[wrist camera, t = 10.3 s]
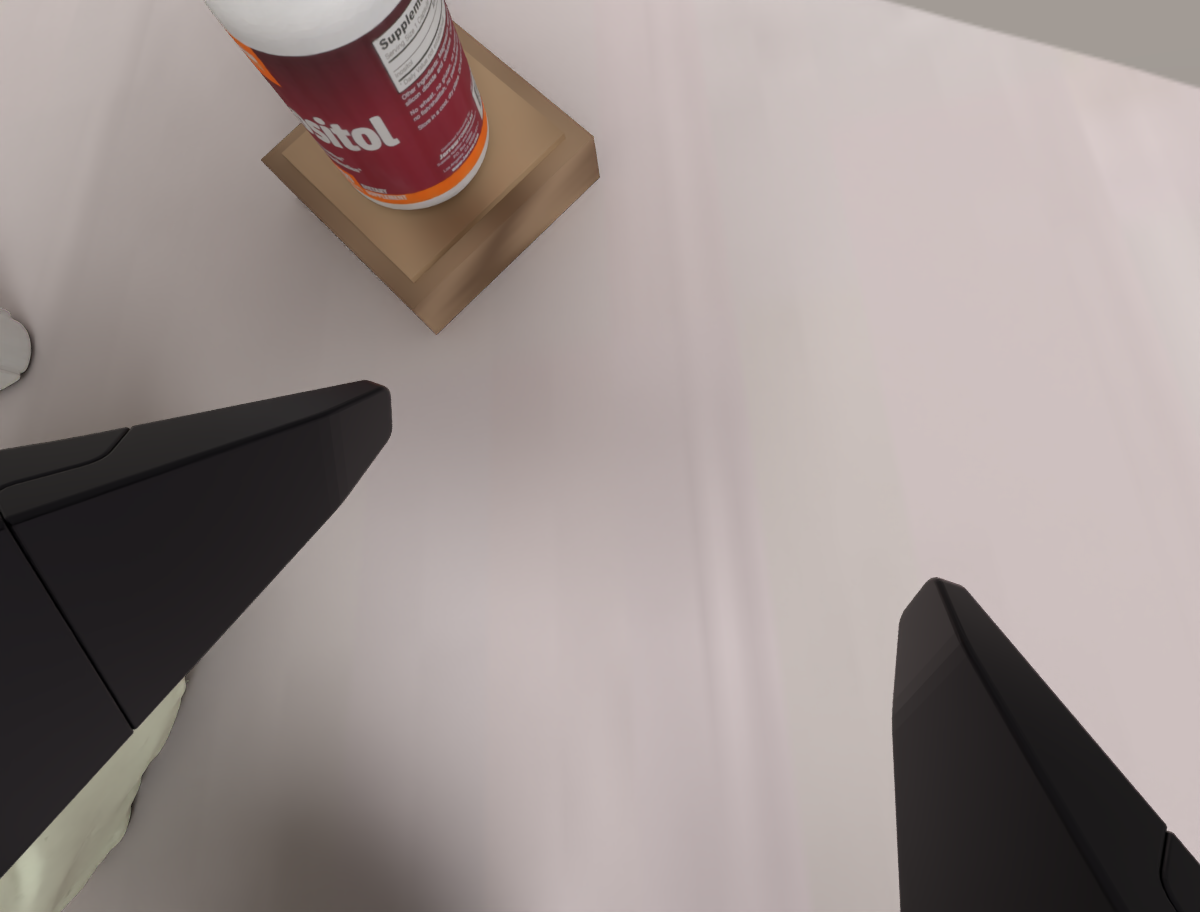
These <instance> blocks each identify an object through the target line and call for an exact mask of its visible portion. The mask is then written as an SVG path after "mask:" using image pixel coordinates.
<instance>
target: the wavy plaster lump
mask: <svg viewBox="0 0 1200 912" xmlns="http://www.w3.org/2000/svg"><path fill="white" fill-rule="evenodd" d="M188 681H189V680H188ZM188 681H187V682H188ZM185 689H186V682H185V677H184V678H183V679H182V680H181V681H180V682H179V683H178V684H177V685H176V687H175V688H174V689H173V690H172V691H171V692H170V693H169V694H168V695H167V696H166V698H165V699H164V700H163V701H162V702H161V703H160V704H159V705H158V706H157V707H156V708H155V710H154V711H153V712H152V713H151V714H150V715H149V716H148V717H147V718H146V719H145V721H144V722H143V723H142V724H141V725H140V726H139V727H138V728H137V729H135V730H133V731H134V733H133V734H132V735H131V736H130V738H129V739H128V740H127V741H126V742H125V743H124V744H123V745H122V746H121V747H120V748H119V750H118V751H117V752H116V753H115V754H114V755H113V756H112V757H111V758H110V759H109V761H108V762H107V763H106V764H105V765H104V766H103V767H102V768H101V769H100V770H99V771H98V773H97V774H96V775H95V776H94V777H93V778H92V779H91V780H90V781H89V782H88V784H87V785H86V786H85V787H84V788H83V789H82V790H81V791H80V792H79V793H78V794H77V796H76V797H75V798H74V799H73V800H72V801H71V802H70V803H69V804H68V805H67V807H66V808H65V809H64V810H63V811H62V812H61V813H60V814H59V815H58V816H57V817H56V819H55V820H54V821H53V822H52V823H51V824H50V825H49V826H48V827H47V828H46V830H45V831H44V832H43V833H42V834H41V835H40V836H39V837H38V838H37V839H36V840H35V842H34V843H33V844H32V845H31V846H30V847H29V848H28V849H27V850H26V851H25V853H24V854H23V855H22V856H21V857H20V858H19V859H18V860H17V861H16V862H15V864H14V865H13V866H12V867H11V868H10V869H9V870H8V871H7V872H6V873H5V874H4V876H3V877H2V878H1V879H0V912H61V911H62V910H63V909H64V908H65V907H66V906H67V905H68V904H69V903H70V901H71V900H72V899H73V898H74V897H75V896H76V895H77V894H78V893H79V892H80V891H81V890H82V888H83V887H84V886H85V884H86V883H87V881H88V880H89V878H90V876H91V875H92V874H93V872H94V871H95V870H96V868H97V866H98V865H99V864H100V863H101V862H102V861H103V860H104V859H105V857H106V855H107V853H109V852H110V851H111V850H112V849H113V848H114V847H115V846H116V845H117V844H118V843H119V842H120V841H121V840H122V838H123V836H124V834H125V832H126V829H127V826H128V823H129V819H130V815H131V804H132V802H133V800H134V798H135V796H136V794H137V792H138V789H139V787H140V784H141V776H142V774H143V773H144V771H145V770H146V768H147V767H148V765H149V764H150V762H151V761H152V760H153V759H154V758H155V757H156V756H157V755H158V754H159V752H160V751H161V749H162V748H163V746H164V744H165V742H166V740H167V738H168V736H169V734H170V731H171V729H172V727H173V724H174V721H175V718H176V716H177V713H178V709H179V707H180V704H181V697H182V695H183V694H184V692H185Z"/></svg>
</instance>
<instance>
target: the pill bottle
mask: <svg viewBox="0 0 1200 912" xmlns="http://www.w3.org/2000/svg"><path fill="white" fill-rule="evenodd" d="M204 1H205V3H206V5H207V6H208V8H209V9H210V10H211V12H212V13H213V14H214V16H215V17H216V18H217V19H218V21H219V22H220V23H221V25H222V26H223V27H224V28H225V30H226V31H227V32H228V33H229V35H230V36H231V37H232V38H233V39H234V41H235V42H236V43H237V44H238V46H239V47H240V48H241V49H242V51H243V52H244V53H245V54H246V55H247V57H248V58H249V59H250V60H251V62H252V63H253V64H254V65H255V66H256V68H257V69H258V70H259V71H260V72H261V74H262V75H263V76H264V77H265V79H266V80H267V81H268V82H269V83H270V85H271V86H272V87H273V88H274V90H275V91H276V92H277V93H278V95H279V96H280V97H281V98H282V100H283V101H284V102H285V103H286V105H287V106H288V107H289V108H290V109H291V111H292V112H293V113H294V114H295V116H296V117H297V118H298V119H299V120H300V122H301V123H302V124H303V125H304V127H305V128H306V129H307V130H308V132H309V133H310V134H311V135H312V136H313V138H314V139H315V140H316V142H317V143H318V144H319V145H320V146H321V148H322V149H323V150H324V151H325V153H326V154H327V155H328V157H329V158H330V159H331V160H332V162H333V163H334V164H335V165H336V167H337V168H338V169H339V170H340V171H341V173H342V174H343V175H344V176H345V178H346V179H347V180H348V181H349V182H350V183H351V184H352V185H353V187H354V188H355V189H356V190H357V191H358V192H360V193H361V194H362V195H364V196H365V197H366V198H368V199H369V200H371V201H373V202H375V203H377V204H379V205H381V206H384V207H387V208H392V209H400V210H415V209H423V208H427V207H431V206H434V205H437V204H440V203H442V202H444V201H446V200H448V199H450V198H452V197H453V196H455V195H457V194H458V193H459V192H460V191H461V190H463V189H464V188H465V187H466V186H467V184H468V183H469V182H470V181H471V180H472V179H473V177H474V176H475V175H476V173H477V171H478V170H479V168H480V166H481V164H482V162H483V160H484V157H485V154H486V151H487V147H488V140H489V126H488V119H487V115H486V111H485V108H484V104H483V101H482V98H481V96H480V93H479V91H478V88H477V85H476V83H475V80H474V77H473V75H472V72H471V69H470V66H469V64H468V61H467V58H466V56H465V53H464V51H463V48H462V45H461V42H460V40H459V37H458V34H457V32H456V29H455V27H454V24H453V21H452V19H451V16H450V13H449V10H448V8H447V5H446V3H445V0H204Z"/></svg>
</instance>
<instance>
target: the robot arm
mask: <svg viewBox="0 0 1200 912" xmlns="http://www.w3.org/2000/svg"><path fill="white" fill-rule="evenodd" d="M391 432H392V409H391V394H390V391H389V389H388V388H387V387H385V386H383V385H380V384H377V383H374V382H371V381H368V380H362V381H357V382H352V383H347V384H342V385H337V386H332V387H327V388H322V389H317V390H312V391H307V392H302V393H296V394H291V395H286V396H281V397H276V398H271V399H266V400H261V401H256V402H251V403H246V404H241V405H236V406H231V407H226V408H221V409H216V410H211V411H206V412H201V413H196V414H191V415H186V416H181V417H176V418H171V419H166V420H161V421H156V422H151V423H146V424H141V425H136V426H133V427H132V428H131V429H130V428H127V427H125V428H120V429H115V430H110V431H105V432H100V433H95V434H89V435H84V436H79V437H73V438H68V439H62V440H57V441H52V442H45V443H39V444H33V445H27V446H20V447H14V448H8V449H2V450H0V879H1V878H2V877H3V876H4V874H5V873H6V872H7V871H8V870H9V869H10V868H11V867H12V866H13V865H14V864H15V862H16V861H17V860H18V859H19V858H20V857H21V856H22V855H23V854H24V853H25V851H26V850H27V849H28V848H29V847H30V846H31V845H32V844H33V843H34V842H35V840H36V839H37V838H38V837H39V836H40V835H41V834H42V833H43V832H44V831H45V830H46V828H47V827H48V826H49V825H50V824H51V823H52V822H53V821H54V820H55V819H56V817H57V816H58V815H59V814H60V813H61V812H62V811H63V810H64V809H65V808H66V807H67V805H68V804H69V803H70V802H71V801H72V800H73V799H74V798H75V797H76V796H77V794H78V793H79V792H80V791H81V790H82V789H83V788H84V787H85V786H86V785H87V784H88V782H89V781H90V780H91V779H92V778H93V777H94V776H95V775H96V774H97V773H98V771H99V770H100V769H101V768H102V767H103V766H104V765H105V764H106V763H107V762H108V761H109V759H110V758H111V757H112V756H113V755H114V754H115V753H116V752H117V751H118V750H119V748H120V747H121V746H122V745H123V744H124V743H125V742H126V741H127V740H128V739H129V738H130V736H131V735H132V734H133V733H134V731H133V730H135V729H137V728H138V727H139V726H140V725H141V724H142V723H143V722H144V721H145V719H146V718H147V717H148V716H149V715H150V714H151V713H152V712H153V711H154V710H155V708H156V707H157V706H158V705H159V704H160V703H161V702H162V701H163V700H164V699H165V698H166V696H167V695H168V694H169V693H170V692H171V691H172V690H173V689H174V688H175V687H176V685H177V684H178V683H179V682H180V681H181V680H182V679H183V678H184V677H185V676H186V675H187V673H188V672H189V671H190V670H191V669H192V668H193V667H194V666H195V665H196V664H197V662H198V661H199V660H200V659H201V658H202V657H203V656H204V655H205V654H206V653H207V651H208V650H209V649H210V648H211V647H212V646H213V645H214V644H215V643H216V642H217V641H218V639H219V638H220V637H221V636H222V635H223V634H224V633H225V632H226V631H227V630H228V628H229V627H230V626H231V625H232V624H233V623H234V622H235V621H236V620H237V619H238V618H239V616H240V615H241V614H242V613H243V612H244V611H245V610H246V609H247V608H248V607H249V605H250V604H251V603H252V602H253V601H254V600H255V599H256V598H257V597H258V596H259V594H260V593H261V592H262V591H263V590H264V589H265V588H266V587H267V586H268V585H269V584H270V582H271V581H272V580H273V579H274V578H275V577H276V576H277V575H278V574H279V573H280V571H281V570H282V569H283V568H284V567H285V566H286V565H287V564H288V563H289V562H290V561H291V559H292V558H293V557H294V556H295V555H296V554H297V553H298V552H299V551H300V550H301V548H302V547H303V546H304V545H305V544H306V543H307V542H308V541H309V540H310V539H311V537H312V536H313V535H314V534H315V533H316V532H317V531H318V530H319V529H320V528H321V527H322V525H323V524H324V523H325V522H326V521H327V520H328V519H329V518H330V517H331V516H332V514H333V513H334V512H335V511H336V510H337V509H338V507H339V506H340V505H341V504H342V503H343V501H344V500H345V499H346V498H347V496H348V495H349V494H350V492H351V491H352V490H353V488H354V487H355V485H356V484H357V483H358V481H359V480H360V479H361V477H362V476H363V474H364V473H365V472H366V470H367V469H368V468H369V466H370V465H371V463H372V462H373V461H374V459H375V458H376V456H377V455H378V454H379V452H380V451H381V450H382V448H383V447H384V445H385V444H386V443H387V441H388V440H389V438H390V435H391ZM892 738H893V760H894V782H895V803H896V825H897V847H898V869H899V890H900V912H1200V864H1199V863H1198V861H1197V860H1196V859H1195V858H1194V857H1193V855H1192V854H1191V853H1190V852H1189V851H1188V850H1187V848H1186V847H1185V846H1184V845H1183V844H1182V842H1181V841H1180V840H1179V839H1178V838H1177V837H1176V835H1175V834H1174V833H1172V832H1170V831H1167V826H1166V824H1165V823H1164V822H1163V820H1162V819H1161V818H1160V817H1159V816H1158V814H1157V813H1156V812H1155V811H1154V810H1153V809H1152V807H1151V806H1150V805H1149V804H1148V803H1147V802H1146V800H1145V799H1144V798H1143V797H1142V796H1141V794H1140V793H1139V792H1138V791H1137V790H1136V789H1135V787H1134V786H1133V785H1132V784H1131V783H1130V782H1129V780H1128V779H1127V778H1126V777H1125V776H1124V774H1123V773H1122V772H1121V771H1120V770H1119V769H1118V767H1117V766H1116V765H1115V764H1114V763H1113V761H1112V760H1111V759H1110V758H1109V757H1108V756H1107V754H1106V753H1105V752H1104V751H1103V750H1102V749H1101V747H1100V746H1099V745H1098V744H1097V743H1096V741H1095V740H1094V739H1093V738H1092V737H1091V736H1090V734H1089V733H1088V732H1087V731H1086V730H1085V729H1084V727H1083V726H1082V725H1081V724H1080V723H1079V721H1078V720H1077V719H1076V718H1075V717H1074V716H1073V714H1072V713H1071V712H1070V711H1069V710H1068V709H1067V707H1066V706H1065V705H1064V704H1063V703H1062V701H1061V700H1060V699H1059V698H1058V697H1057V696H1056V694H1055V693H1054V692H1053V691H1052V690H1051V689H1050V687H1049V686H1048V685H1047V684H1046V683H1045V681H1044V680H1043V679H1042V678H1041V677H1040V676H1039V674H1038V673H1037V672H1036V671H1035V670H1034V669H1033V667H1032V666H1031V665H1030V664H1029V663H1028V661H1027V660H1026V659H1025V658H1024V657H1023V656H1022V654H1021V653H1020V652H1019V651H1018V650H1017V649H1016V647H1015V646H1014V645H1013V644H1012V643H1011V641H1010V640H1009V639H1008V638H1007V637H1006V636H1005V634H1004V633H1003V632H1002V631H1001V630H1000V629H999V627H998V626H997V625H996V624H995V623H994V621H993V620H992V619H991V618H990V617H989V616H988V614H987V613H986V612H985V611H984V610H983V609H982V607H981V606H980V605H979V604H978V603H977V601H976V600H975V599H974V598H973V597H972V596H971V594H970V593H969V592H968V591H967V590H966V589H965V588H964V587H963V586H961V585H959V584H956V583H953V582H950V581H947V580H944V579H941V578H938V577H934V578H931V579H929V580H928V581H927V582H926V583H925V584H924V585H923V587H922V588H921V589H920V591H919V592H918V593H917V594H916V596H915V597H914V598H913V600H912V601H911V602H910V603H909V605H908V606H907V607H906V609H905V610H904V612H903V614H902V616H901V619H900V622H899V631H898V643H897V656H896V668H895V680H894V693H893V707H892Z"/></svg>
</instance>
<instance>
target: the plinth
mask: <svg viewBox="0 0 1200 912" xmlns="http://www.w3.org/2000/svg"><path fill="white" fill-rule="evenodd" d="M453 24H454V27H455V29H456V32H457V34H458V37H459V40H460V42H461V45H462V48H463V51H464V53H465V56H466V58H467V61H468V64H469V66H470V69H471V72H472V75H473V77H474V80H475V83H476V85H477V88H478V91H479V93H480V96H481V98H482V101H483V104H484V108H485V111H486V115H487V119H488V126H489V140H488V147H487V151H486V154H485V157H484V160H483V162H482V164H481V166H480V168H479V170H478V171H477V173H476V175H475V176H474V177H473V179H472V180H471V181H470V182H469V183H468V184H467V186H466V187H465V188H464V189H463V190H461V191H460V192H459V193H458V194H457V195H455V196H453V197H452V198H450V199H448V200H446V201H444V202H442V203H440V204H437V205H434V206H431V207H427V208H423V209H415V210H400V209H392V208H387V207H384V206H381V205H379V204H377V203H375V202H373V201H371V200H369V199H368V198H366V197H365V196H364V195H362V194H361V193H360V192H358V191H357V190H356V189H355V188H354V187H353V185H352V184H351V183H350V182H349V181H348V180H347V179H346V178H345V176H344V175H343V174H342V173H341V171H340V170H339V169H338V168H337V167H336V165H335V164H334V163H333V162H332V160H331V159H330V158H329V157H328V155H327V154H326V153H325V151H324V150H323V149H322V148H321V146H320V145H319V144H318V143H317V142H316V140H315V139H314V138H313V136H312V135H311V134H310V133H309V132H308V130H307V129H306V128H305V127H304V125H303V124H302V123H300V124H299V125H298V126H297V127H296V128H295V129H294V130H293V131H292V132H291V133H290V134H288V135H287V136H286V137H285V138H284V139H283V140H282V141H281V142H280V143H279V144H278V145H276V146H275V147H274V148H273V149H272V150H271V151H270V152H269V153H268V154H267V155H266V156H265V157H263V158H262V159H261V161H262V162H263V163H264V164H265V165H266V166H267V167H268V168H269V169H270V170H271V171H272V172H273V173H274V174H275V175H276V176H277V177H278V178H279V179H280V180H281V181H282V182H283V183H284V184H285V185H286V186H287V187H288V188H289V189H290V190H291V191H292V192H293V193H294V194H295V195H296V196H297V197H298V198H299V199H300V200H301V201H302V202H303V203H304V204H305V205H306V206H307V207H308V208H309V209H310V210H311V211H312V212H313V213H314V214H315V215H316V216H317V217H318V218H319V219H320V220H321V221H322V222H323V223H324V224H325V225H326V226H327V227H328V228H329V229H330V230H331V231H332V232H333V233H334V234H335V235H336V236H337V237H338V238H339V239H340V240H341V241H342V242H343V243H344V244H345V245H346V246H347V247H348V248H349V249H350V250H351V251H352V252H353V253H354V254H355V255H356V256H357V257H358V258H359V259H360V260H361V261H362V262H363V263H364V264H366V265H367V266H368V267H369V268H370V269H371V270H372V271H373V272H374V273H375V274H376V275H377V276H378V277H379V278H380V279H381V280H382V281H383V282H384V283H385V284H386V285H387V286H388V287H389V288H390V289H391V290H392V291H393V292H394V293H395V294H396V295H397V296H398V297H399V298H400V299H401V300H402V301H403V302H404V303H405V304H406V305H407V306H408V307H409V308H410V309H411V310H412V311H413V312H414V313H415V314H416V315H417V316H418V317H419V318H420V319H421V320H422V321H423V322H424V323H425V324H426V325H427V326H428V327H429V328H430V329H431V330H432V331H433V332H434V333H435V334H436V335H437V334H438V333H439V332H440V331H441V330H442V329H443V328H444V327H445V326H446V325H447V324H448V323H449V322H450V321H451V320H452V319H453V318H454V317H455V316H456V315H457V314H458V313H460V312H461V311H462V310H463V309H464V308H465V307H466V306H467V305H468V304H469V303H470V302H471V301H472V300H473V299H474V298H475V297H476V296H477V295H478V294H479V293H480V292H481V291H482V290H483V289H484V288H485V287H486V286H487V285H489V284H490V283H491V282H492V281H493V280H494V279H495V278H496V277H497V276H498V275H499V274H500V273H501V272H502V271H503V270H504V269H505V268H506V267H507V266H508V265H509V264H510V263H511V262H512V261H513V260H514V259H515V258H516V257H518V256H519V255H520V254H521V253H522V252H523V251H524V250H525V249H526V248H527V247H528V246H529V245H530V244H531V243H532V242H533V241H534V240H535V239H536V238H537V237H538V236H539V235H540V234H541V233H542V232H543V231H544V230H546V229H547V228H548V227H549V226H550V225H551V224H552V223H553V222H554V221H555V220H556V219H557V218H558V217H559V216H560V215H561V214H562V213H563V212H564V211H565V210H566V209H567V208H568V207H569V206H570V205H571V204H572V203H573V202H575V201H576V200H577V199H578V198H579V197H580V196H581V195H582V194H583V193H584V192H585V191H586V190H587V189H588V188H589V187H590V186H591V185H592V184H593V183H594V182H595V181H596V180H597V179H598V178H599V177H600V176H599V169H598V162H597V156H596V149H595V143H594V136H592V135H591V134H590V133H589V132H587V131H586V130H585V129H584V128H583V127H581V126H580V125H579V124H578V123H577V122H575V121H574V120H573V119H572V118H570V117H569V116H568V115H567V114H566V113H564V112H563V111H562V110H561V109H560V108H558V107H557V106H556V105H555V104H553V103H552V102H551V101H550V100H549V99H547V98H546V97H545V96H544V95H542V94H541V93H540V92H539V91H538V90H536V89H535V88H534V87H533V86H532V85H530V84H529V83H528V82H527V81H525V80H524V79H523V78H522V77H521V76H519V75H518V74H517V73H516V72H515V71H513V70H512V69H511V68H510V67H508V66H507V65H506V64H505V63H504V62H502V61H501V60H500V59H499V58H497V57H496V56H495V55H494V54H493V53H491V52H490V51H489V50H488V49H487V48H485V47H484V46H483V45H482V44H480V43H479V42H478V41H477V40H476V39H474V38H473V37H472V36H471V35H470V34H468V33H467V32H466V31H465V30H463V29H462V28H461V27H460V26H459V25H457V24H456V23H455V22H454V21H453Z"/></svg>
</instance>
